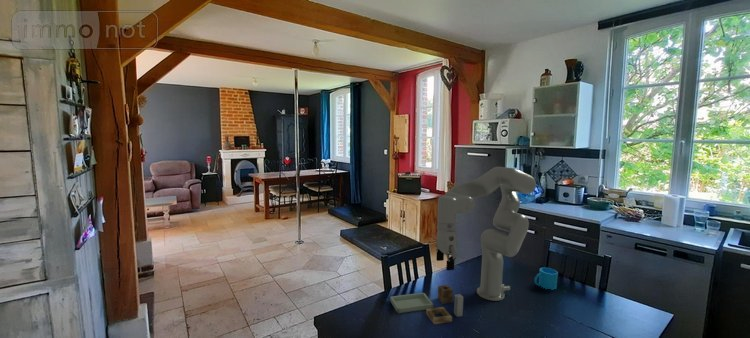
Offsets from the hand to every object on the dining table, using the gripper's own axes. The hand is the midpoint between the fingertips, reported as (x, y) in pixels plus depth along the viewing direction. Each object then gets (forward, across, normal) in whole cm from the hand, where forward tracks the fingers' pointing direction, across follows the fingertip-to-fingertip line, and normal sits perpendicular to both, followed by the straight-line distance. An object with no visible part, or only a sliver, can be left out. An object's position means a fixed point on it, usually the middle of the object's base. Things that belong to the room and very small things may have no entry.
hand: (444, 265), depth 134 cm
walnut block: (+21, +9, -5) cm, 24 cm away
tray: (+21, +8, +11) cm, 25 cm away
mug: (+22, +12, -61) cm, 66 cm away
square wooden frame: (+21, -3, +4) cm, 22 cm away
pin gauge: (+21, -3, -5) cm, 22 cm away
